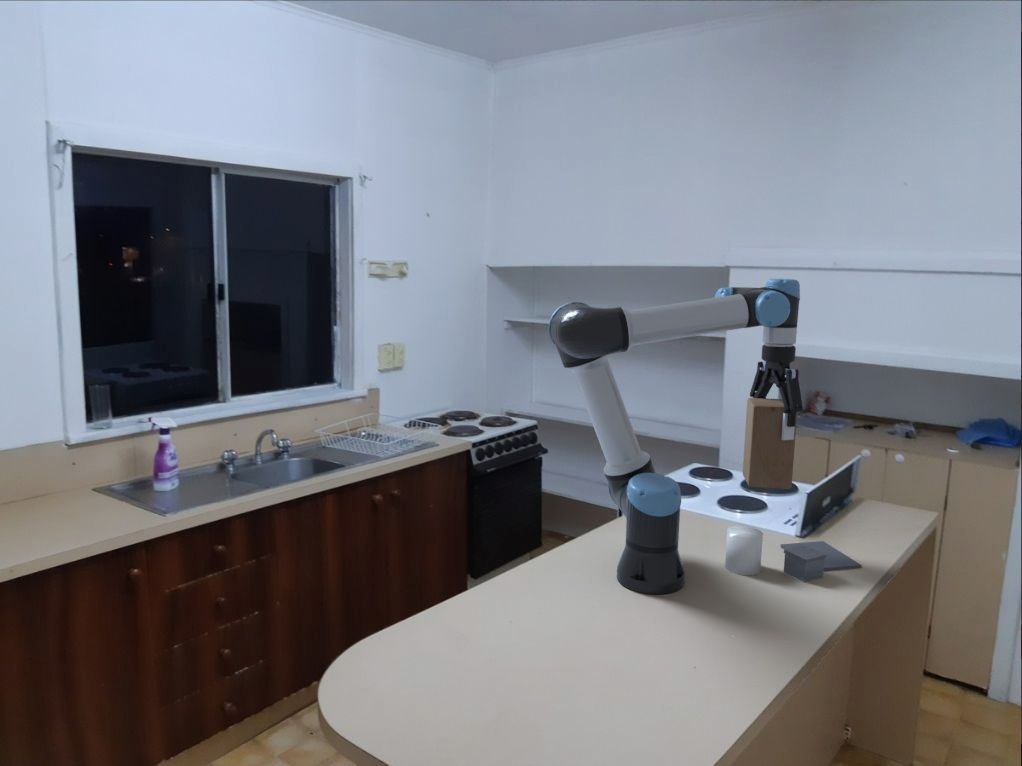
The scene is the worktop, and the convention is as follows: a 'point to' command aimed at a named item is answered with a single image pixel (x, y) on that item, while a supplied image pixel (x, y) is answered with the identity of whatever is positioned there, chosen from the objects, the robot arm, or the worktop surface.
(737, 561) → the white rounded cylinder
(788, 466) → the wooden block
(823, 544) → the mat
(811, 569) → the tea tin
